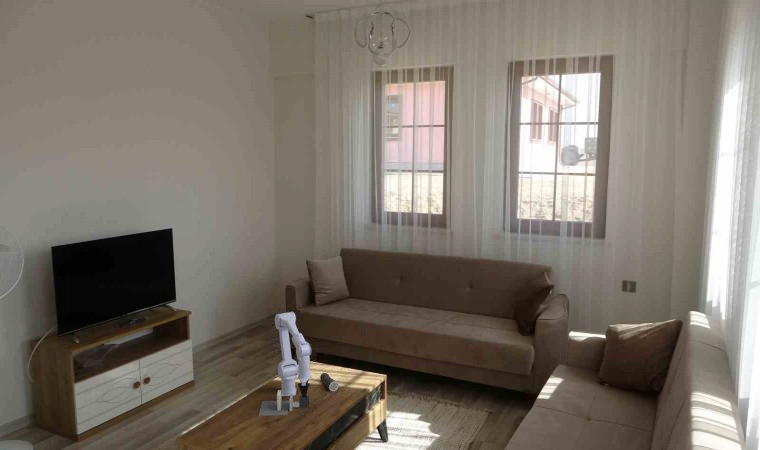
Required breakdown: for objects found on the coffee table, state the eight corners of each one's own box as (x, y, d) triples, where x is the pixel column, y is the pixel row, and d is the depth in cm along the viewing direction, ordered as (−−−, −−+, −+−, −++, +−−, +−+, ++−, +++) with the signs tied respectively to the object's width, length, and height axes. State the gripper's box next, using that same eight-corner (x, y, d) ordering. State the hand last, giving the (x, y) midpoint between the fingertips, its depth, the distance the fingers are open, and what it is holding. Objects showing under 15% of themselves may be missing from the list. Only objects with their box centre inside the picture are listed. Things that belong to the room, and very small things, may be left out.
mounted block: (290, 404, 291) (290, 393, 290) (309, 404, 292) (309, 393, 291) (289, 412, 283) (289, 400, 282) (309, 411, 284) (308, 399, 283)
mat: (262, 402, 293) (262, 401, 293) (289, 401, 295) (289, 400, 294) (258, 416, 277) (258, 415, 277) (287, 415, 279) (287, 414, 279)
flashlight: (319, 381, 320) (319, 372, 320) (328, 380, 323) (327, 371, 322) (329, 392, 307) (329, 382, 306) (338, 390, 309) (338, 380, 308)
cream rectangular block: (277, 405, 289) (277, 390, 288) (281, 404, 289) (281, 390, 288) (277, 410, 283) (276, 395, 282) (280, 410, 283) (280, 395, 282)
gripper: (311, 373, 278) (312, 399, 280) (312, 362, 292) (312, 387, 294) (297, 373, 277) (297, 399, 279) (298, 362, 291) (298, 387, 293)
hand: (304, 393), depth 286 cm, fingers open, 7 cm apart
